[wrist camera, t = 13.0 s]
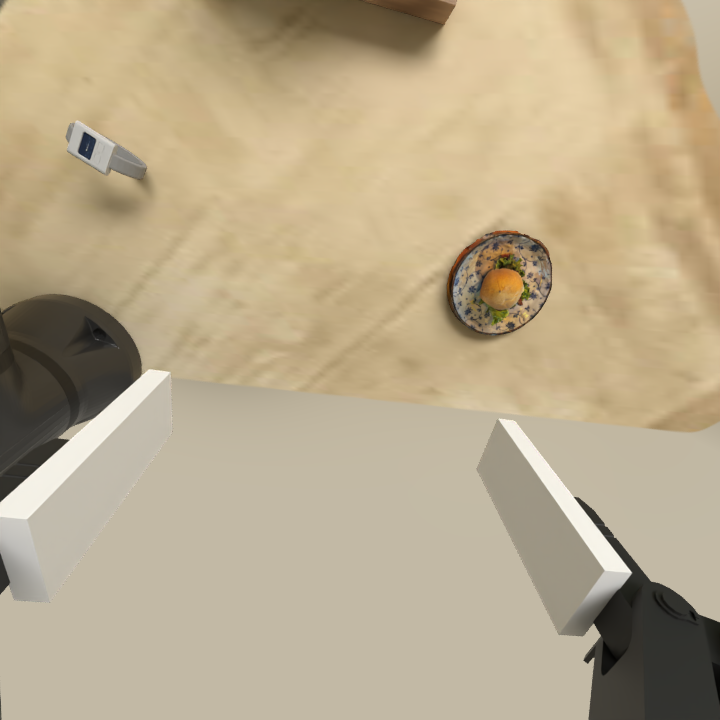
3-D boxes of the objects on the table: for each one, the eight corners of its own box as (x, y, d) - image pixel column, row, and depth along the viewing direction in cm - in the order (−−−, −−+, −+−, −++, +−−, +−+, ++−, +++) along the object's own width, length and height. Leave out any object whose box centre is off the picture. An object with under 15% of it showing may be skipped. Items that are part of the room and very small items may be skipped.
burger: (497, 347, 45) (524, 373, 38) (425, 297, 42) (441, 316, 35) (567, 268, 41) (611, 282, 35) (494, 207, 38) (527, 209, 31)
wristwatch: (159, 161, 35) (132, 156, 30) (150, 187, 36) (121, 186, 31) (95, 119, 33) (56, 107, 29) (86, 147, 34) (47, 140, 29)
